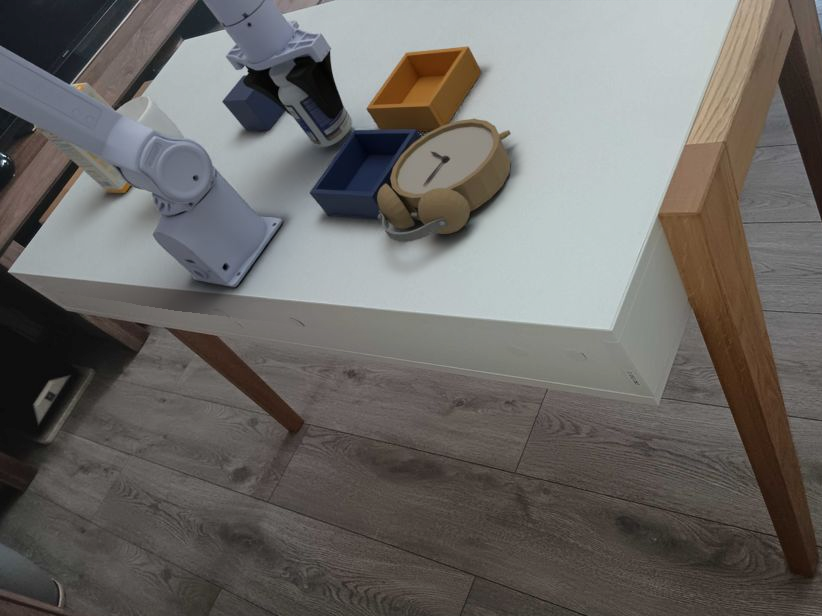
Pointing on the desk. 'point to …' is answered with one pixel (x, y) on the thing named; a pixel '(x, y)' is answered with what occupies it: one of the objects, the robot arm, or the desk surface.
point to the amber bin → (425, 89)
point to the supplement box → (86, 160)
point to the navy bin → (361, 172)
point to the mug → (149, 115)
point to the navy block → (252, 107)
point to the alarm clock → (444, 179)
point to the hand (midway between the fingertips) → (320, 113)
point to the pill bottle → (309, 110)
